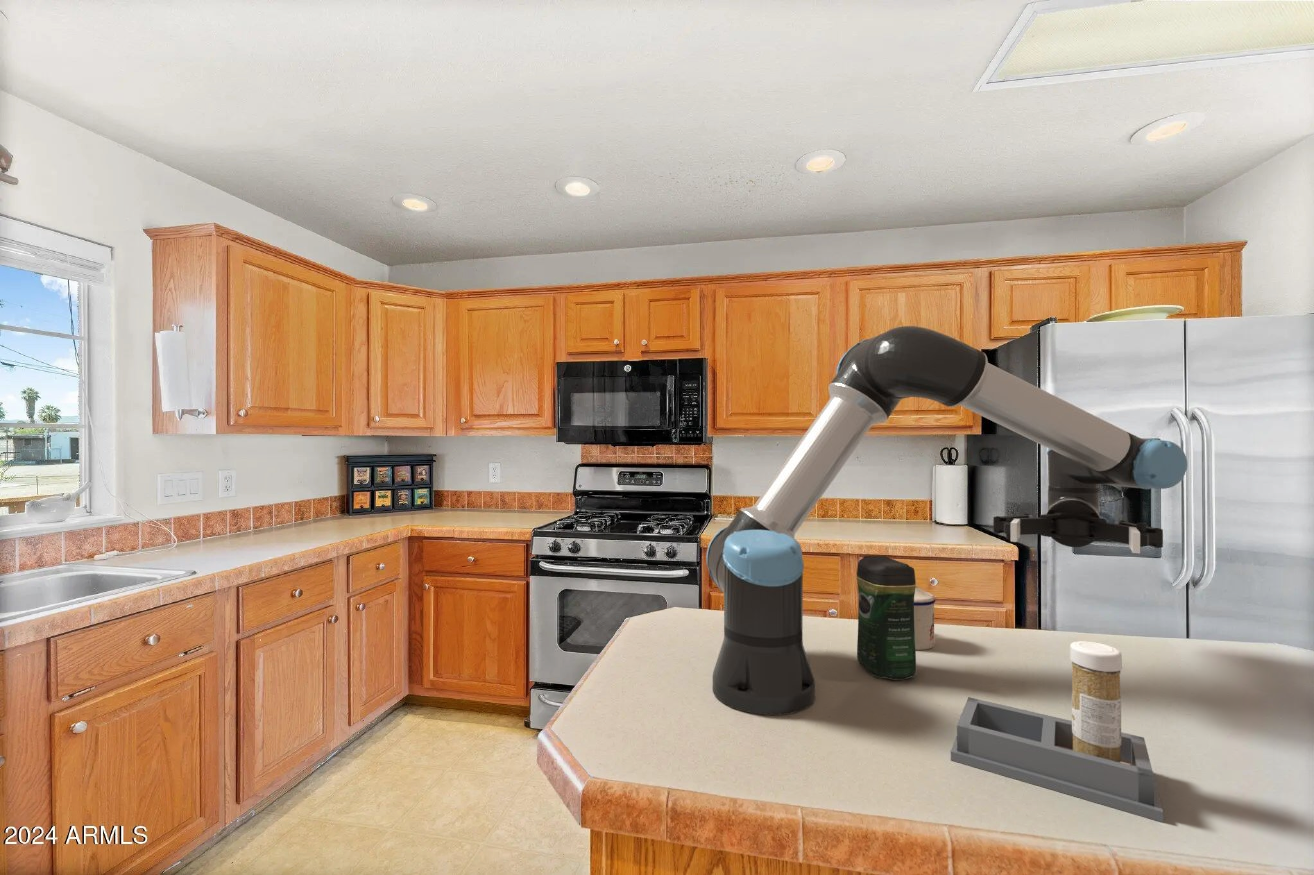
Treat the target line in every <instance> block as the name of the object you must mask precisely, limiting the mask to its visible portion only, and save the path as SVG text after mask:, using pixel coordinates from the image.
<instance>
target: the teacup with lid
mask: <svg viewBox="0 0 1314 875" xmlns="http://www.w3.org/2000/svg"><path fill="white" fill-rule="evenodd" d="M935 603H936V598H935V596H934V595H933V594H932V593H931V592H928V591H925V590H923V589H922V588H921V587H919V586H917V585H916V589H915V595H914V630H915V650H916V651H924V650H929V649H932V648H933V647H934V646H935Z"/></svg>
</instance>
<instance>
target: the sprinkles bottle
mask: <svg viewBox="0 0 1314 875" xmlns="http://www.w3.org/2000/svg"><path fill="white" fill-rule="evenodd" d="M1069 654H1070V655H1069V657H1070V661H1071V666H1072V667H1071V668H1072V669H1071V670H1072V673H1071V674H1072V678H1071V679H1072V680H1071V682H1072V683H1071V684H1072V685H1071V686H1072V690H1071V691H1072V692H1071V721H1072V733H1073V751H1076V752H1080V753H1084V754H1088V755H1092V756H1096V757H1100V758H1104V759H1108V760H1112V761H1116V762H1120V745H1121V732H1122V697H1121V676H1120V675H1121V671H1122V669H1123V659H1122V658H1123V657H1122V656H1123V655H1122V652H1121V651H1120V650H1119V649H1118V648H1115V647H1112V646H1110V645H1108V644H1104V643H1099V642H1094V641H1084V640H1079V641H1078V640H1077V641H1074V642H1071V643H1070V646H1069Z"/></svg>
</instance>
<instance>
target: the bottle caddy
mask: <svg viewBox="0 0 1314 875" xmlns="http://www.w3.org/2000/svg"><path fill="white" fill-rule="evenodd" d="M950 761H952V762H956V763H960V764H963V765H966V766H970V767H972V768H976V769H979V770H980V769H981V770H984V771H987V772H990V773H994V774H996V775H997V774H998V775H1000V776H1004V777H1008V778H1011V779H1014V780H1017V781H1021V782H1024V783H1028V784H1031V785H1034V786H1038V787H1042V788H1045V789H1048V790H1051V791H1054V792H1058V793H1062V794H1065V795H1069V796H1072V797H1075V798H1080V799H1082V800H1085V801H1089V802H1091V803H1092V802H1093V803H1096V804H1099V805H1102V806H1105V807H1110V808H1112V809H1117V810H1120V811H1124V812H1126V813H1130V814H1133V815H1137V816H1141V817H1143V818H1147V819H1151V820H1154V821H1158V822H1160V823H1164V810H1163V806H1162V802H1161V799H1160V795H1159V791H1158V787H1157V783H1156V780H1155V776H1154V775H1155V774H1154V771H1153V767H1152V764H1151V759H1150V756H1149V752H1148V748H1147V745H1146V740H1145V737H1143V736H1138V735H1135V734H1129V733H1126V732H1122V731H1121V745H1120V762H1116V761H1112V760H1108V759H1104V758H1100V757H1096V756H1092V755H1088V754H1084V753H1080V752H1076V751H1073V733H1072V720H1069V719H1066V718H1061V717H1056V716H1052V715H1048V714H1045V713H1039V712H1035V711H1031V710H1027V709H1022V708H1019V707H1018V708H1017V707H1013V706H1008V705H1006V704H1005V705H1004V704H1001V703H996V702H991V701H987V700H984V699H978V698H974V697H971V696H969V697H968V698H967V700H966V702H965V705H964V707H963V710H962V712H961V714H960V717H959V719H958V721H957V725H956V736H955V740H954V742H953V744H952V747H951V749H950Z"/></svg>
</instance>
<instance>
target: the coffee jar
mask: <svg viewBox="0 0 1314 875" xmlns="http://www.w3.org/2000/svg"><path fill="white" fill-rule="evenodd" d="M856 581H857V590H858V614H857V616H858V617H857V641H856V642H857V643H856V646H857V647H856V659H857V662H858V664H859V665H860V666H861V667H862V669H864V670H866V672H869V673H870V674H871V675H873V676H874V677H876V678H883V679H890V680H892V681H904V680H906V679H910V678H913V677H915V676H916V674H917V650H915V630H914V595H915V589H916V586H917V584H916V583H917V582H916V571H915V569H914V567H912V566H910V565H909V564H908V563H905V562H902V561H898V560H895V559H893V558H891V557H888V556H886V555H864V556H863V557H862V558H861V559H859V561H858V563H857V570H856Z"/></svg>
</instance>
